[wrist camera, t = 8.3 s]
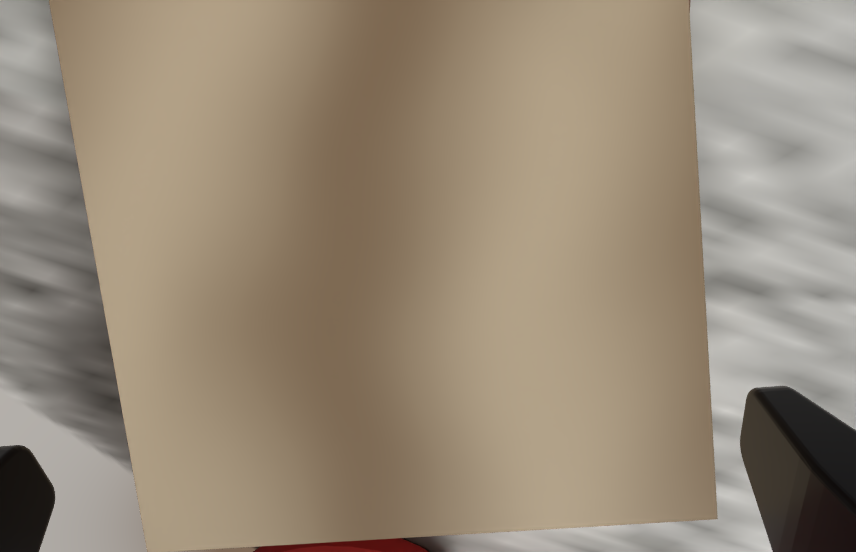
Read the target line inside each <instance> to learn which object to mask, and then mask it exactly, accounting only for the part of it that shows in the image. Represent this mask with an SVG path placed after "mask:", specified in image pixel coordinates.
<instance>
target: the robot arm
mask: <svg viewBox="0 0 856 552" xmlns="http://www.w3.org/2000/svg"><path fill="white" fill-rule="evenodd" d="M740 447H741V454H742V458H743V461H744V465H745V468H746V471H747V474H748V477H749V480H750V483H751V486H752V489H753V492H754V495H755V498H756V501H757V504H758V508H759V511H760V514H761V517H762V520H763V523H764V526H765V529H766V532H767V535H768V538H769V541H770V544H771V547H772V550H773V552H856V430H855V429H853V428H851V427H850V426H848V425H847V424H845V423H844V422H842V421H841V420H839V419H838V418H836V417H835V416H833V415H832V414H830V413H829V412H827V411H826V410H824V409H823V408H821V407H820V406H818V405H817V404H815V403H814V402H812V401H811V400H809V399H808V398H806V397H805V396H803V395H802V394H800V393H798V392H797V391H795V390H794V389H792V388H790V387H787V386H774V387H761V388H754V389H752V390H751V391H750V392H749V393H748V395H747V399H746V404H745V411H744V417H743V424H742V430H741V436H740ZM54 504H55V491H54V487H53V485H52V483H51V482H50V480H49V479H48V477H47V475H46V474H45V472H44V471H43V469H42V468H41V466H40V464H39V463H38V461H37V460H36V458H35V457H34V455H33V453H32V452H31V451H30V450H29V449H28V448H26V447H25V446H20V445H14V446H1V447H0V552H39V550H40V547H41V544H42V541H43V538H44V535H45V532H46V529H47V526H48V523H49V519H50V516H51V513H52V511H53V508H54Z"/></svg>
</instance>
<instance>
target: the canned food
mask: <svg viewBox="0 0 856 552" xmlns="http://www.w3.org/2000/svg"><path fill="white" fill-rule="evenodd" d="M253 552H428V551H427V550H425V549H424V548H422V547H420V546H418V545H416V544H414V543H411V542H409V541H407V540H404V539H402V538H393V539H376V540H359V541H343V542H326V543H309V544H292V545H276V546H261V547H259V548H258V549H256V550H255V551H253Z"/></svg>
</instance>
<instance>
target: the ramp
mask: <svg viewBox="0 0 856 552" xmlns="http://www.w3.org/2000/svg"><path fill="white" fill-rule="evenodd" d="M49 4H50V9H51V15H52V21H53V26H54V32H55V37H56V43H57V49H58V54H59V60H60V65H61V71H62V77H63V82H64V88H65V93H66V99H67V105H68V110H69V116H70V121H71V127H72V133H73V138H74V144H75V149H76V155H77V161H78V166H79V172H80V178H81V183H82V189H83V194H84V200H85V206H86V211H87V217H88V222H89V228H90V234H91V239H92V245H93V250H94V256H95V262H96V267H97V273H98V278H99V284H100V290H101V295H102V301H103V306H104V312H105V318H106V323H107V329H108V335H109V340H110V346H111V351H112V357H113V363H114V368H115V374H116V379H117V385H118V391H119V396H120V402H121V407H122V413H123V419H124V424H125V430H126V435H127V441H128V447H129V452H130V458H131V463H132V469H133V475H134V480H135V486H136V492H137V497H138V502H139V508H140V514H141V520H142V525H143V531H144V536H145V542H146V548H147V552H175V551H190V550H191V551H192V550H208V549H225V548H242V547H259V546H276V545H292V544H309V543H326V542H343V541H359V540H376V539H393V538H409V537H426V536H443V535H460V534H476V533H493V532H510V531H526V530H543V529H560V528H577V527H593V526H610V525H627V524H643V523H660V522H677V521H694V520H710V519H717V501H716V483H715V465H714V447H713V429H712V411H711V393H710V375H709V357H708V339H707V321H706V303H705V285H704V267H703V249H702V231H701V213H700V195H699V177H698V159H697V141H696V123H695V105H694V87H693V69H692V51H691V33H690V15H689V0H49Z"/></svg>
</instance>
